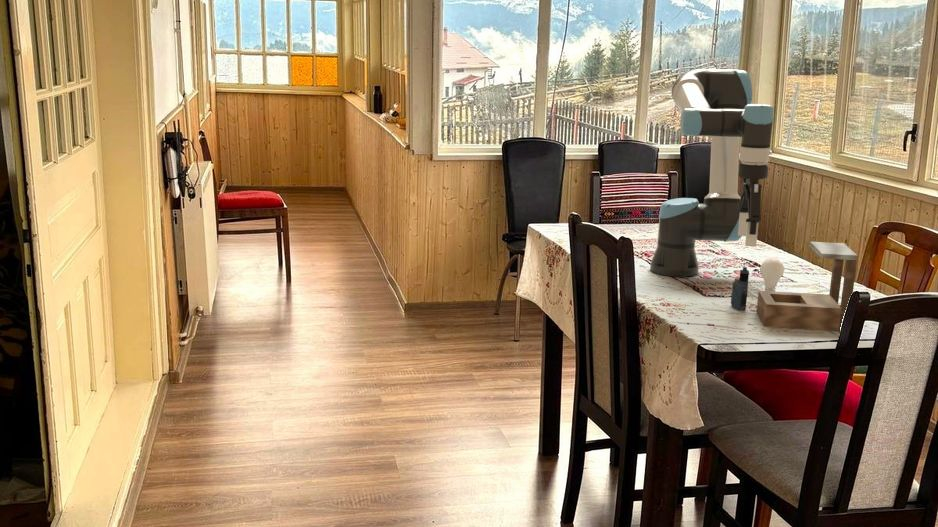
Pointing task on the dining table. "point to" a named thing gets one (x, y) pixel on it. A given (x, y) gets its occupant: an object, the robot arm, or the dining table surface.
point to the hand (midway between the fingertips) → (746, 240)
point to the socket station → (812, 296)
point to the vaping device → (740, 290)
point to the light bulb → (771, 272)
